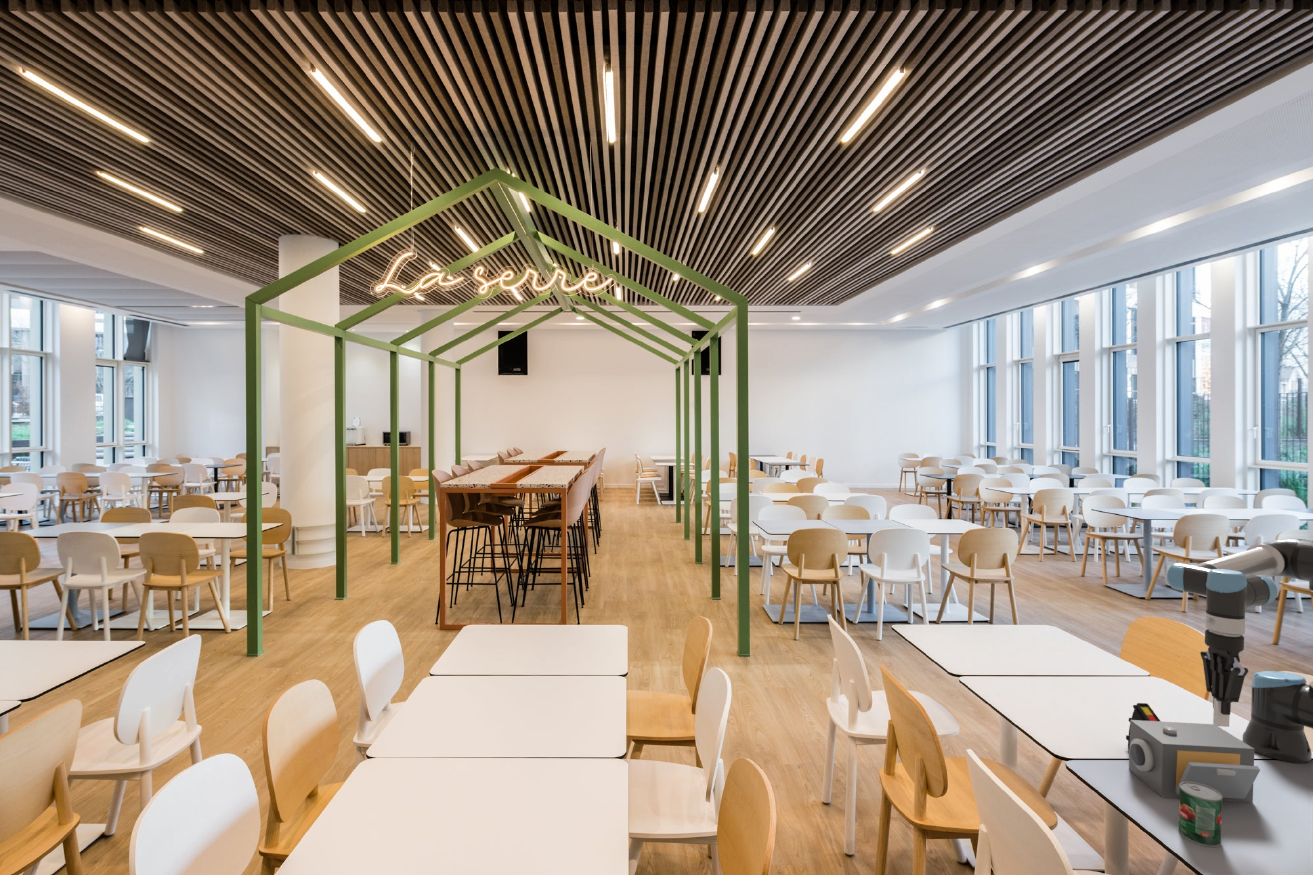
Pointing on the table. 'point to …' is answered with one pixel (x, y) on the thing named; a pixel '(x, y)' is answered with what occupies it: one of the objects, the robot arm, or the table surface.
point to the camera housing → (1182, 752)
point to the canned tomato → (1200, 814)
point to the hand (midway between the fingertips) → (1221, 724)
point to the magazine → (1142, 715)
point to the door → (1221, 778)
